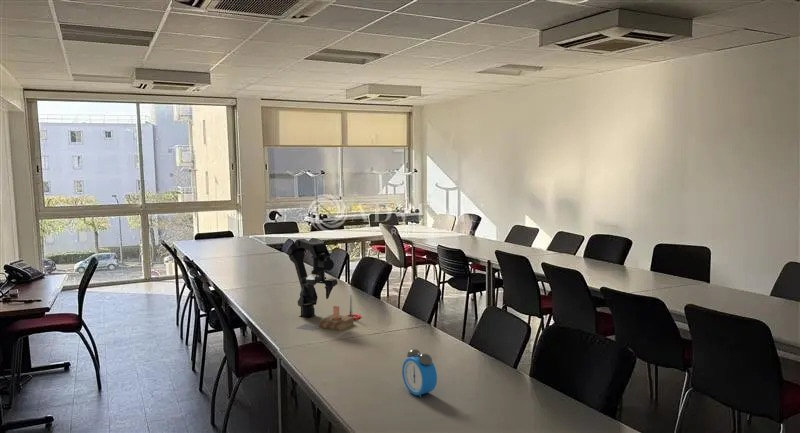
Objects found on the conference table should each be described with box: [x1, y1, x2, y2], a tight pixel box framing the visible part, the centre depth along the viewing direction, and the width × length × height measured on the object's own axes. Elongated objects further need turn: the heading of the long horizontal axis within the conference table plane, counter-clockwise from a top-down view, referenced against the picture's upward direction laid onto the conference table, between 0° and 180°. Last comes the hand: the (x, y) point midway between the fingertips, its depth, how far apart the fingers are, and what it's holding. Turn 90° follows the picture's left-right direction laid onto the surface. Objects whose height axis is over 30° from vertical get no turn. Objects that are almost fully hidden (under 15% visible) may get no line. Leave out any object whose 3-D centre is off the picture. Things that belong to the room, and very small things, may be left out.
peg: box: [332, 305, 340, 320], centre depth 285 cm, size 3×3×10 cm
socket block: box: [319, 314, 354, 331], centre depth 285 cm, size 12×12×4 cm
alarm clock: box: [401, 348, 438, 398], centre depth 201 cm, size 13×6×15 cm, turn 35°
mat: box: [296, 323, 320, 332], centre depth 283 cm, size 10×8×1 cm
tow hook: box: [345, 294, 362, 321], centre depth 300 cm, size 8×13×9 cm
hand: (319, 298), depth 292 cm, fingers open, 9 cm apart
